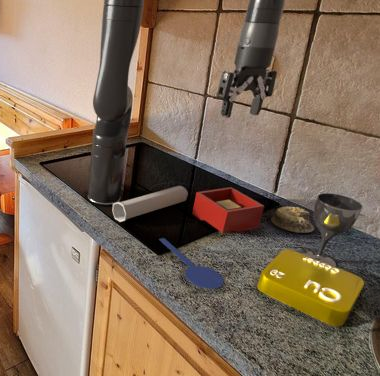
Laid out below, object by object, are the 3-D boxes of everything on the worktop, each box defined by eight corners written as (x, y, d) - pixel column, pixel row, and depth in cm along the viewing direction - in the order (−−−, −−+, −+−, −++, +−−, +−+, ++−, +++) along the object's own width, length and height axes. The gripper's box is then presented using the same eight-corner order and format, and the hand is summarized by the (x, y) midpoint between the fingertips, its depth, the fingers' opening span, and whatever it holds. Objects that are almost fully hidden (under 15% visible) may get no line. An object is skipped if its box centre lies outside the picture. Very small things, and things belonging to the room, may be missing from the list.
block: (212, 216, 108) (215, 201, 106) (225, 214, 110) (229, 199, 108) (224, 224, 105) (227, 209, 103) (237, 221, 106) (241, 206, 104)
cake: (269, 230, 105) (273, 211, 103) (271, 214, 113) (274, 196, 111) (314, 238, 100) (319, 218, 98) (313, 221, 108) (317, 202, 106)
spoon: (147, 243, 96) (147, 240, 96) (174, 238, 99) (174, 235, 98) (200, 295, 80) (201, 291, 80) (231, 287, 82) (231, 284, 82)
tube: (176, 183, 119) (111, 201, 107) (190, 184, 115) (124, 203, 102) (177, 200, 120) (113, 220, 108) (192, 202, 115) (126, 223, 103)
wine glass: (303, 246, 97) (323, 190, 91) (342, 260, 92) (366, 202, 86) (292, 259, 92) (313, 200, 86) (333, 275, 87) (357, 214, 80)
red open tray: (192, 213, 110) (196, 192, 108) (226, 208, 114) (231, 187, 111) (221, 235, 101) (227, 212, 98) (258, 228, 104) (264, 205, 101)
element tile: (359, 295, 81) (368, 276, 79) (338, 333, 72) (348, 312, 70) (279, 262, 91) (285, 244, 89) (252, 291, 81) (258, 272, 79)
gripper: (267, 42, 95) (251, 110, 102) (218, 42, 91) (204, 113, 98) (295, 45, 89) (275, 117, 96) (243, 46, 84) (227, 122, 91)
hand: (239, 115), depth 97 cm, fingers open, 8 cm apart
